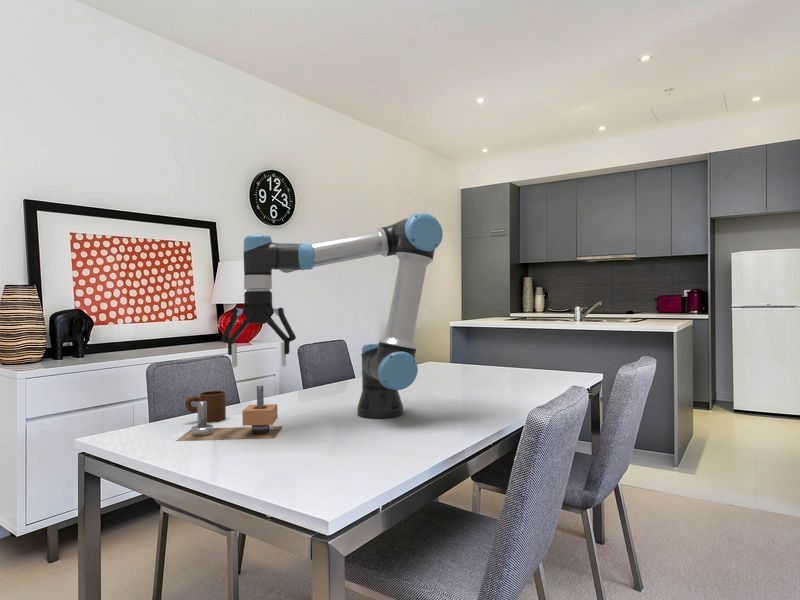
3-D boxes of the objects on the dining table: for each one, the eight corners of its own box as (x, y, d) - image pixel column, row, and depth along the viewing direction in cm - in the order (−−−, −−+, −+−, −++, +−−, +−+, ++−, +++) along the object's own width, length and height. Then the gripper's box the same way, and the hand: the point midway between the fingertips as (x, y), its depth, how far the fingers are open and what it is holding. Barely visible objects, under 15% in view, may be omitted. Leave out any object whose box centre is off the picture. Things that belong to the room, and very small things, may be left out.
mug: (190, 429, 154) (189, 398, 154) (181, 425, 159) (181, 394, 159) (229, 423, 161) (229, 392, 161) (220, 418, 167) (219, 389, 167)
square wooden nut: (277, 418, 150) (277, 404, 150) (272, 424, 142) (272, 410, 142) (249, 418, 149) (249, 404, 149) (242, 425, 141) (242, 410, 141)
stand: (271, 429, 148) (270, 384, 148) (267, 434, 143) (267, 387, 143) (253, 430, 148) (253, 384, 148) (250, 434, 143) (249, 387, 143)
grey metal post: (215, 431, 148) (215, 399, 148) (209, 436, 142) (209, 403, 142) (195, 431, 147) (195, 400, 147) (188, 437, 142) (188, 404, 142)
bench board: (282, 429, 152) (282, 426, 152) (274, 441, 139) (274, 438, 139) (192, 432, 151) (192, 428, 151) (175, 444, 138) (175, 441, 138)
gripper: (304, 290, 150) (305, 363, 150) (216, 291, 149) (217, 365, 149) (301, 290, 142) (302, 367, 143) (208, 291, 141) (209, 369, 141)
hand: (259, 366), depth 146 cm, fingers open, 13 cm apart
